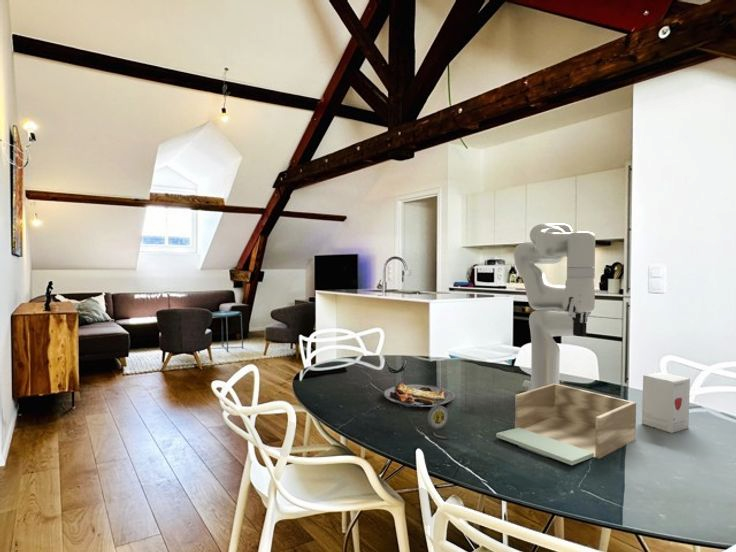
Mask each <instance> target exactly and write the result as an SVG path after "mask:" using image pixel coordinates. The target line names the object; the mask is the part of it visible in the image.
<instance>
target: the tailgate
mask: <svg viewBox="0 0 736 552" xmlns="http://www.w3.org/2000/svg"><path fill="white" fill-rule="evenodd" d="M495 438H497V439H500V440H504V441H506V442H509V443H511V444H514V445H517V446H518V447H519V448H522V449H524V450H526V451H529V452H531V453H534V454H537V455H539V456H542V457H545V458H551V459H553V460H557V461H559V462H562V463H565V464H567V465H570V466H574V465H577V464H579V463H581V462H585V461H586V460H589V459H592V458H595V457H594V453H593V452H590V451H587V450H584V449H581V448H578V447H575V446H572V445H569V444H566V443H563V442H560V441H557V440H554V439H551V438H549V437H546V436H543V435H540V434H537V433H534V432H531V431H528V430H525V429H522V428H519V427H518V428H515V427H514V428H512V429H511V428H510V429H508V430H504V431H500V432H496V435H495Z"/></svg>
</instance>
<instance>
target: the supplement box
mask: <svg viewBox="0 0 736 552" xmlns="http://www.w3.org/2000/svg"><path fill="white" fill-rule="evenodd" d="M642 376H643V377H642V398H641V399H642V402H641V403H642V404H641V411H642V412H641V424H642V425H645V426H649V427H651V428H654V427H655V429H657V430H661V431H663V432H668V433H670V434H673V433H676V432H681V431H683V430H687V429H689V425H690V424H689V419H690V417H689V416H690V387H691V386H690V385H691V378H690V377H689V378H688V377H685V376H681V375H680V376H679V375H675V374H671V373H667V372H661V371H659V372H654V373H653V372H652V373H649V374H645V375H642Z"/></svg>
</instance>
